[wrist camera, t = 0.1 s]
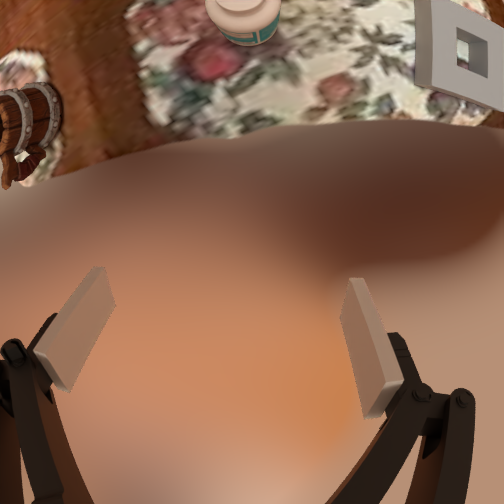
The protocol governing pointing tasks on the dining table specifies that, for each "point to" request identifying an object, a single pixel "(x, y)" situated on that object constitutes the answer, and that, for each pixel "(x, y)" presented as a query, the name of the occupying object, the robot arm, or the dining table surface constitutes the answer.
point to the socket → (445, 53)
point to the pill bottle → (245, 19)
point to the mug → (26, 128)
